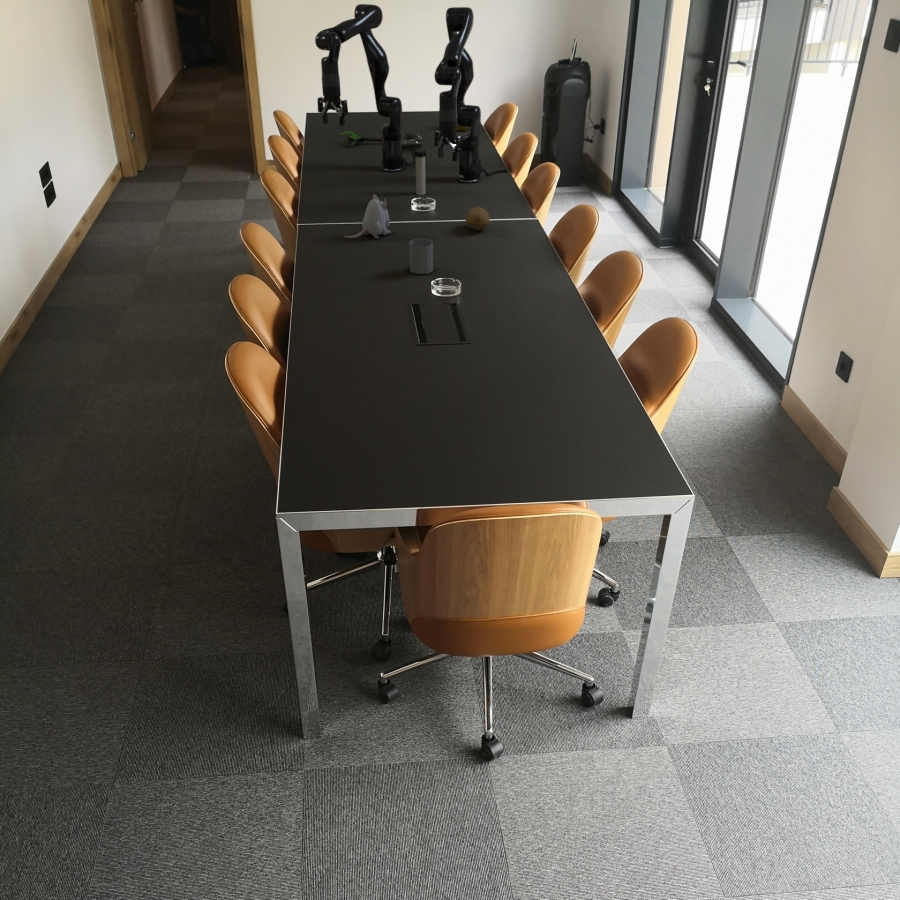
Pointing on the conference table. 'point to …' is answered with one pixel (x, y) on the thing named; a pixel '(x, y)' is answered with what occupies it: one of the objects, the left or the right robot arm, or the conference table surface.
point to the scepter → (357, 139)
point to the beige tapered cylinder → (420, 176)
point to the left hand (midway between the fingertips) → (333, 124)
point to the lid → (420, 153)
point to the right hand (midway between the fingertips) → (447, 159)
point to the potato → (477, 218)
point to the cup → (421, 256)
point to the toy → (375, 219)
